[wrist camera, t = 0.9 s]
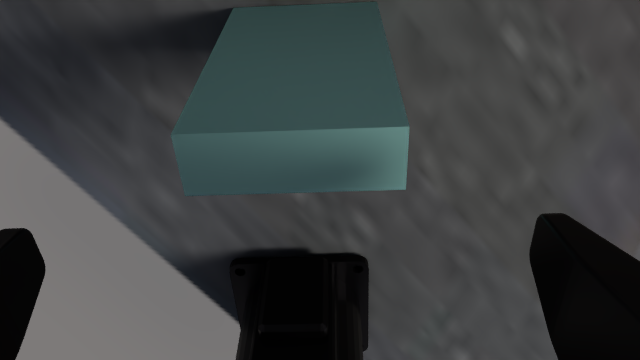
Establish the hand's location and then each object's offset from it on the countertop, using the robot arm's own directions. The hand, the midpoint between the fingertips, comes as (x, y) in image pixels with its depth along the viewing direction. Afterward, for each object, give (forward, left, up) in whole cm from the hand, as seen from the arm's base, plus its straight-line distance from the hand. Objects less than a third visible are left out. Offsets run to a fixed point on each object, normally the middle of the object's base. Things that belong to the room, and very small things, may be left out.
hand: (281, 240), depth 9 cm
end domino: (0, 0, -12) cm, 12 cm away
